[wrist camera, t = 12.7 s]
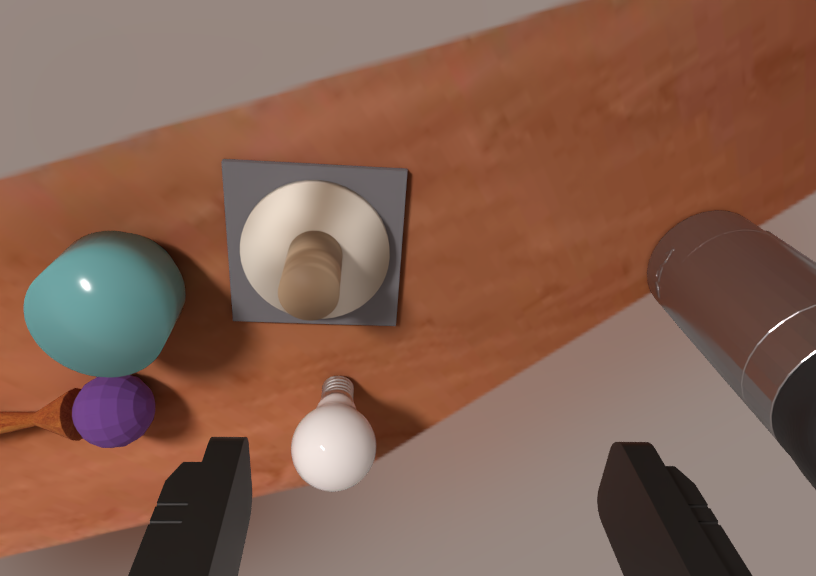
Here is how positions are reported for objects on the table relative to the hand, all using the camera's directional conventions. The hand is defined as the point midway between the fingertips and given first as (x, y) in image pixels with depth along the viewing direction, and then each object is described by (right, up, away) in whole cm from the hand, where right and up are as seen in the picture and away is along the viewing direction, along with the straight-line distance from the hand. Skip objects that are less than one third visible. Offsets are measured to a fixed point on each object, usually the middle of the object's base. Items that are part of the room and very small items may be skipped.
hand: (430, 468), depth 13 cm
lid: (-7, +7, +33) cm, 34 cm away
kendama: (-31, -6, +39) cm, 50 cm away
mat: (-7, +7, +33) cm, 35 cm away
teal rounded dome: (-22, +5, +33) cm, 40 cm away
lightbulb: (-6, -4, +39) cm, 40 cm away
